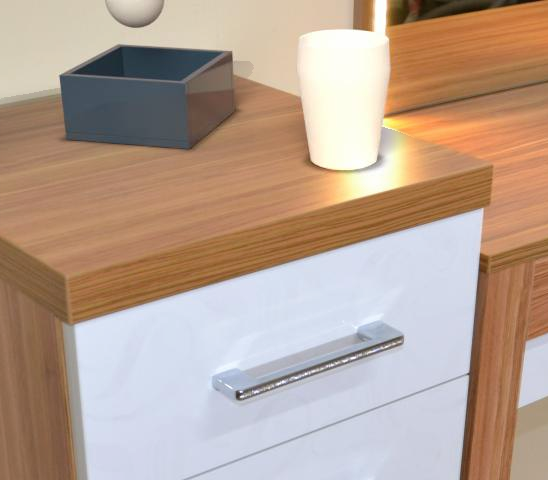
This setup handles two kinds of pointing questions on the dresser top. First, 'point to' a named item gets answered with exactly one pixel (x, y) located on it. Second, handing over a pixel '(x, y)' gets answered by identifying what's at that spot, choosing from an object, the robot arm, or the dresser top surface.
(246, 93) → the dresser top surface
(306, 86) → the cup
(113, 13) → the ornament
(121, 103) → the dark blue open box
